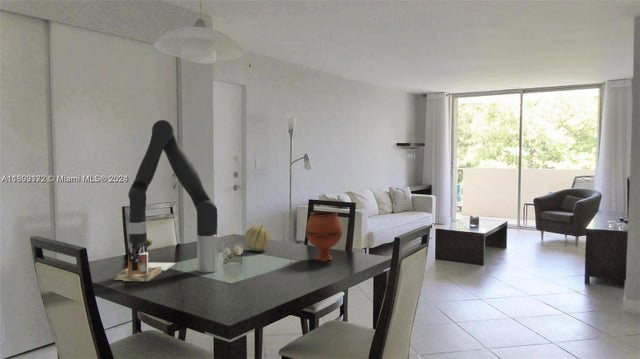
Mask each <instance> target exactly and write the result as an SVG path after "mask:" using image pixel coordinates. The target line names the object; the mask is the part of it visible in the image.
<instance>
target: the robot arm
mask: <svg viewBox="0 0 640 359" xmlns="http://www.w3.org/2000/svg"><path fill="white" fill-rule="evenodd" d="M163 152H164V153H165V155H166V158H167V160H168V162H169V165H170V167H171V169H172V171H173V173H174V176H175V177H176V178H177V180H178V182H179V183H180V185H181V186H182V188H184V190H185V191H186V193H187V194H188V195H189V197H190V198H191V199H190V200H191V201H192V203H193V205H194V208H195V210H196V247H197V248H196V250H197V251H196V253H197V254H196V255H197V258H196V261H197V272H198V273H215V272H218V270H219V265H220V264H219V249H218V207H217V205H216V204H215V203H214V202H213V201H212V200H211V198H210V196H209V194H208V193H207V192H206V190H205V187H203V183H202V181H201V178H200V176H199V173H198V171H197V169H196V168H195V165H194V164H193V163H192V161H191V159H190V158H189V156H188V155H187V154H186V153H185V151H184V150H183V148H182V147H181V146H180V145H179V142H178V140H177V138H176V135H175V134H174V127H173V125H172V123H171V122H170V121H168V120H166V119H160V120H157V121H156V122H154V123H153V125H152V128H151V136H150V141H149V143H148V147H147V150H146V151H145V154H144V156H143V158H142V161H141V162H140V165H139V167H138V170H137V172H136V175H135V178H134V181H133V182H132V184H131V186H130V189H129V191H128V194H127V195H128V198H129V199H128V200H129V212H128V222H129V223H128V243H130V244H132V245H131V248H128V249H127V250H128V255H129V262H132V270H133V271H136V270H138V264H137V261H138V257H139V256H140V253H142V252H143V253H144V252H148V248H147V243H144V242H146V241H147V240H148V236H147V234H148V228H147V212H146V207H147V191H148V189H149V185H150V184H151V183H152V181H153V179H154V176H155V175H156V174H155V173H156V172H157V168H158V165H159V162H160V159H161V156H162V153H163ZM135 254H137V255H135ZM131 257H132V258H131ZM135 257H136V258H135Z"/></svg>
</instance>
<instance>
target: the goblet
mask: <svg viewBox="0 0 640 359" xmlns="http://www.w3.org/2000/svg"><path fill="white" fill-rule="evenodd" d="M307 220H308V221H307V224H306V227H305V236H306V238H307V240H308V242H309V243H310V244H311V245H312V246H314V247H315V248H317V250H318V251H319V253H318V255H317V256H316V258H315V260H316V259H317V260H322V261H321V262H328V261H327V260H331V261H333V257H332V256H331V254H330V253H329V252H330V249H331V248H333V247H335V246H336V245H337V244H339V241H340V240H341V238H342V236H343V227H342V223H341V221H340V218H339V216H338V212H337V211H311V212H310V216H309V218H308V219H307ZM317 260H316V261H317Z"/></svg>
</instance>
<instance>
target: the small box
mask: <svg viewBox="0 0 640 359" xmlns="http://www.w3.org/2000/svg"><path fill="white" fill-rule="evenodd" d="M148 254H149V252H148V251H147V252H144V253H143V252H142V253H140V256H139V257H138V261H137V264H138V270H136V271H133V270H132V262H129V254H128V256H127V263H128V264H127V268H128V274H135V275H146V274H148V263H149V255H148ZM135 255H137V254H135ZM131 258H132V257H131ZM135 258H136V257H135Z"/></svg>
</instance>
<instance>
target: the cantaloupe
mask: <svg viewBox="0 0 640 359" xmlns="http://www.w3.org/2000/svg"><path fill="white" fill-rule="evenodd" d="M243 240H244V241H243V242H244V245H245V246H246V247H247V249H249V250H250V251H253V252H262V251H263V250H265V249H267V248H268V246H269V244H270V241H271V235H270V231H268V229H266V228H265V227H264V225H263V224H262V225H253V226H252V227H250V228H249V229H248V230H247V231H246V232H245V234H244V238H243Z"/></svg>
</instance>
